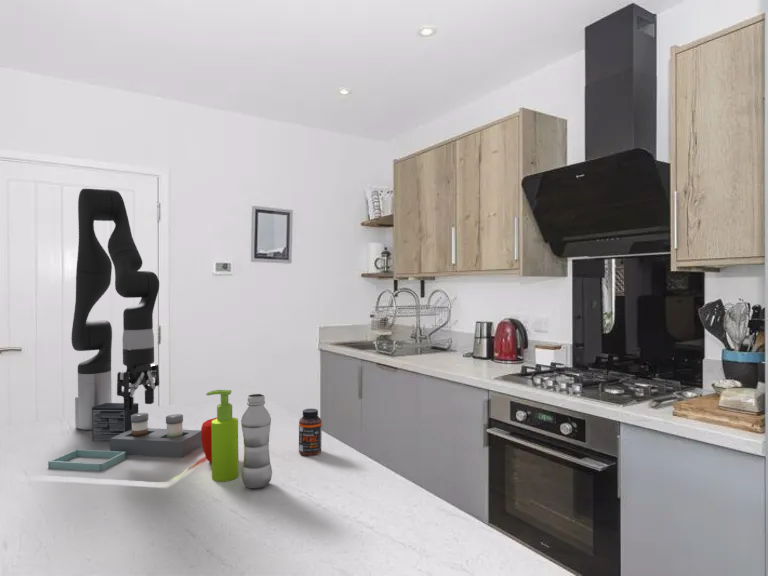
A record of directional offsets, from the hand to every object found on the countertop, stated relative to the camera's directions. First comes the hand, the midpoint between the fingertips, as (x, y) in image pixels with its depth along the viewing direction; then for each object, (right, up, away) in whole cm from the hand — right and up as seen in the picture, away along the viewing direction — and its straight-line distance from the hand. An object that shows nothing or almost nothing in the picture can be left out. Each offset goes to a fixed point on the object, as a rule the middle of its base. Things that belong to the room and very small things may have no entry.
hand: (139, 407), depth 136 cm
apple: (+23, -12, -6) cm, 27 cm away
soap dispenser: (+28, -12, -17) cm, 35 cm away
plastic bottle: (+37, -12, -23) cm, 45 cm away
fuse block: (+5, -12, 0) cm, 13 cm away
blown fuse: (0, -11, 0) cm, 11 cm away
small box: (-12, -12, +10) cm, 20 cm away
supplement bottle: (+45, -12, -1) cm, 47 cm away
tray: (-8, -12, -10) cm, 18 cm away
